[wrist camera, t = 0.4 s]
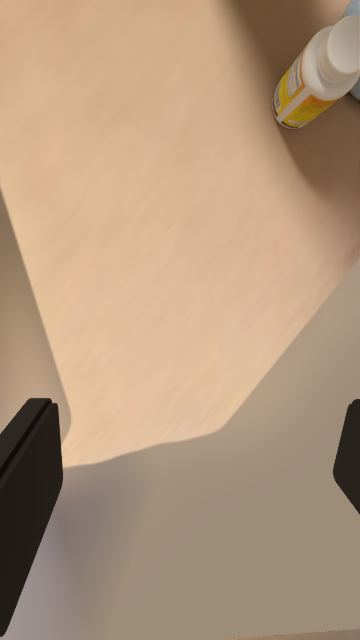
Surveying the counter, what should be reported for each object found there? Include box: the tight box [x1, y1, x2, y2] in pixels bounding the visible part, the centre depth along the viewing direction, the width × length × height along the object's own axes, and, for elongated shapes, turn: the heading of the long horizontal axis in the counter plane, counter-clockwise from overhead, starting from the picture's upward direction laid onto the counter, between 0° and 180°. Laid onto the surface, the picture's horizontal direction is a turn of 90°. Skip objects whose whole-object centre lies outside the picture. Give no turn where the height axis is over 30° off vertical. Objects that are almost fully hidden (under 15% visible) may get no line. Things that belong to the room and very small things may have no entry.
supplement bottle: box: [272, 15, 360, 129], centre depth 28 cm, size 6×6×10 cm
